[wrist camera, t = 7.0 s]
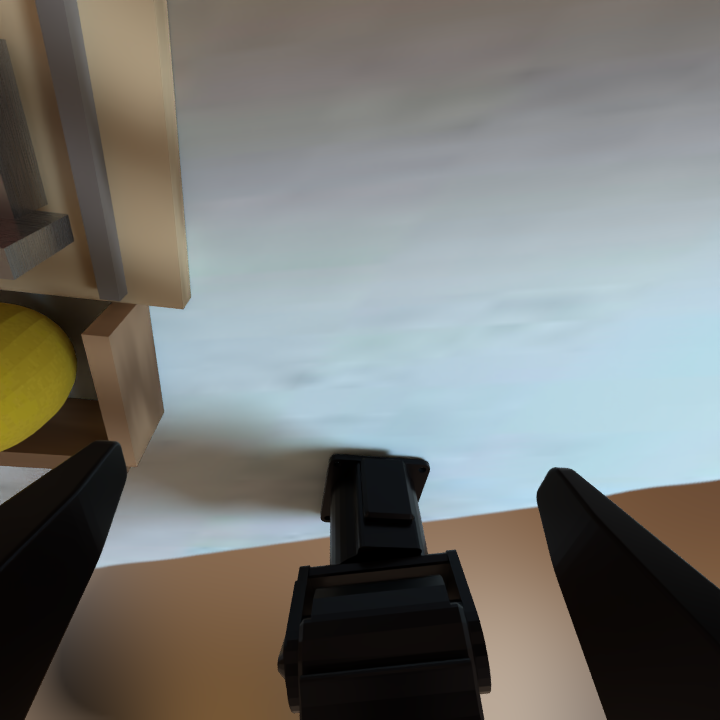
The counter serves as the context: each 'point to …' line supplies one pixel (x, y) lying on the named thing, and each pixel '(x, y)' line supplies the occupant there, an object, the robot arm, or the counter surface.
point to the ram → (22, 189)
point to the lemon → (31, 372)
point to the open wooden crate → (104, 395)
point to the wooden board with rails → (103, 146)
